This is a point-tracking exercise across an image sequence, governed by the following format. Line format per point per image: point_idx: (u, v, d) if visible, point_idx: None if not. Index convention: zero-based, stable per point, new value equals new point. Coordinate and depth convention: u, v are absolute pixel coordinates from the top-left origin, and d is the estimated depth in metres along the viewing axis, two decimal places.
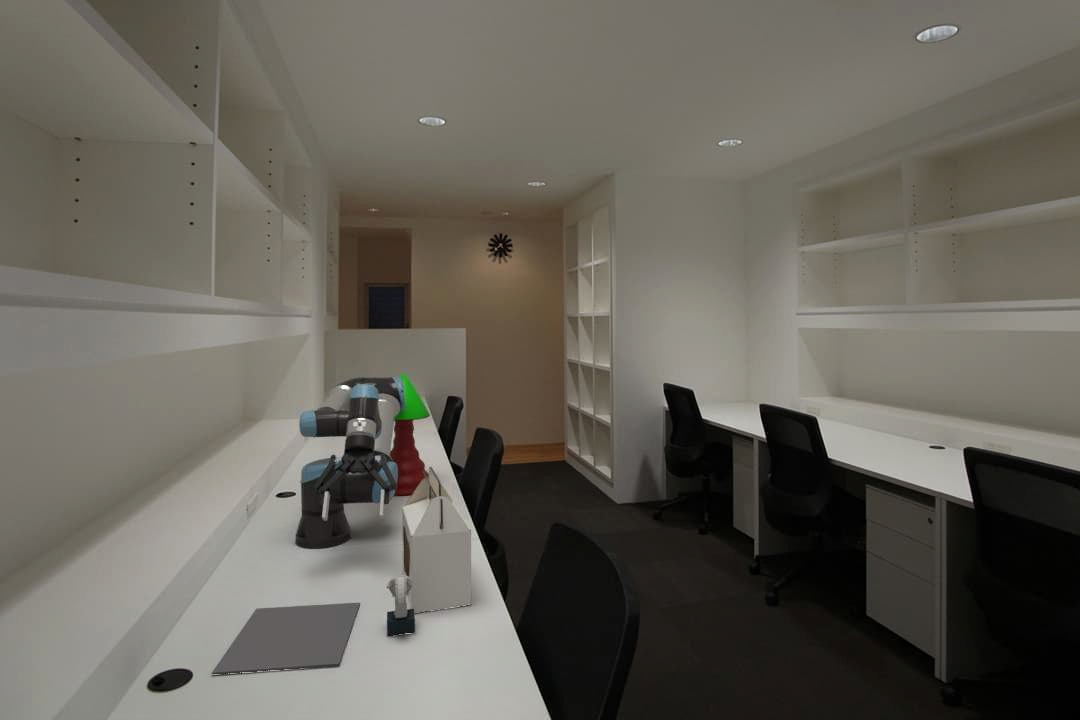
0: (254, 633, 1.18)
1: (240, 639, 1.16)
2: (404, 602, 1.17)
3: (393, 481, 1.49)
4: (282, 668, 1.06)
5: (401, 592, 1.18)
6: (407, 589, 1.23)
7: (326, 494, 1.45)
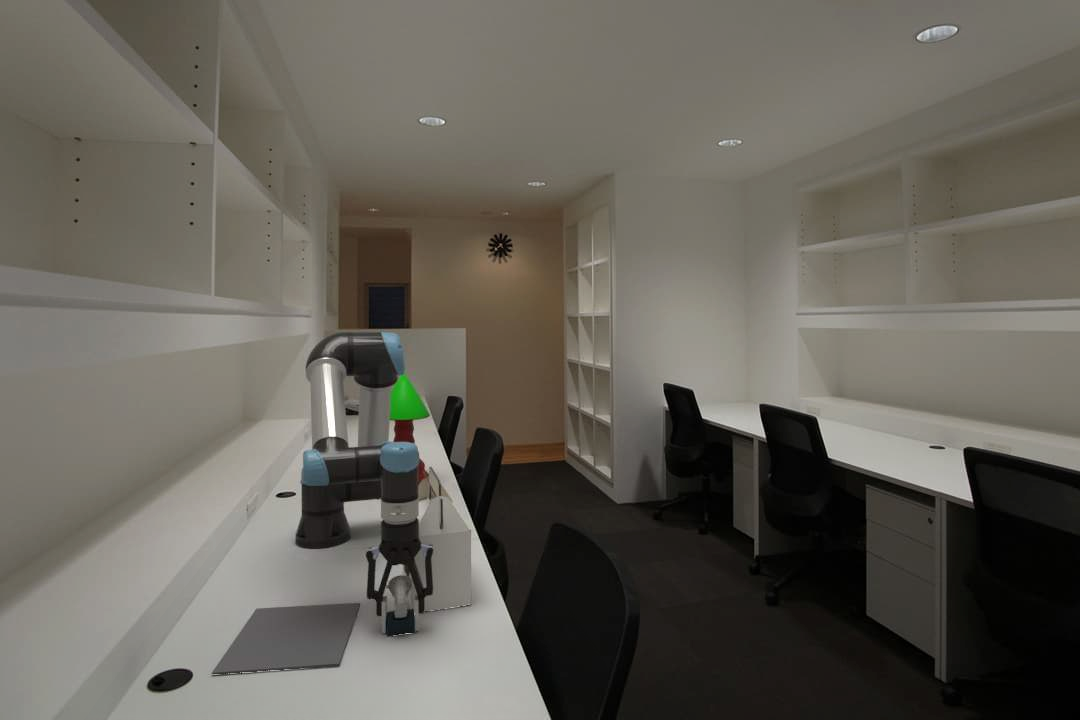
0: (254, 633, 1.18)
1: (240, 639, 1.16)
2: (404, 602, 1.17)
3: (430, 588, 1.20)
4: (282, 668, 1.06)
5: (401, 592, 1.17)
6: (407, 589, 1.23)
7: (383, 605, 1.19)
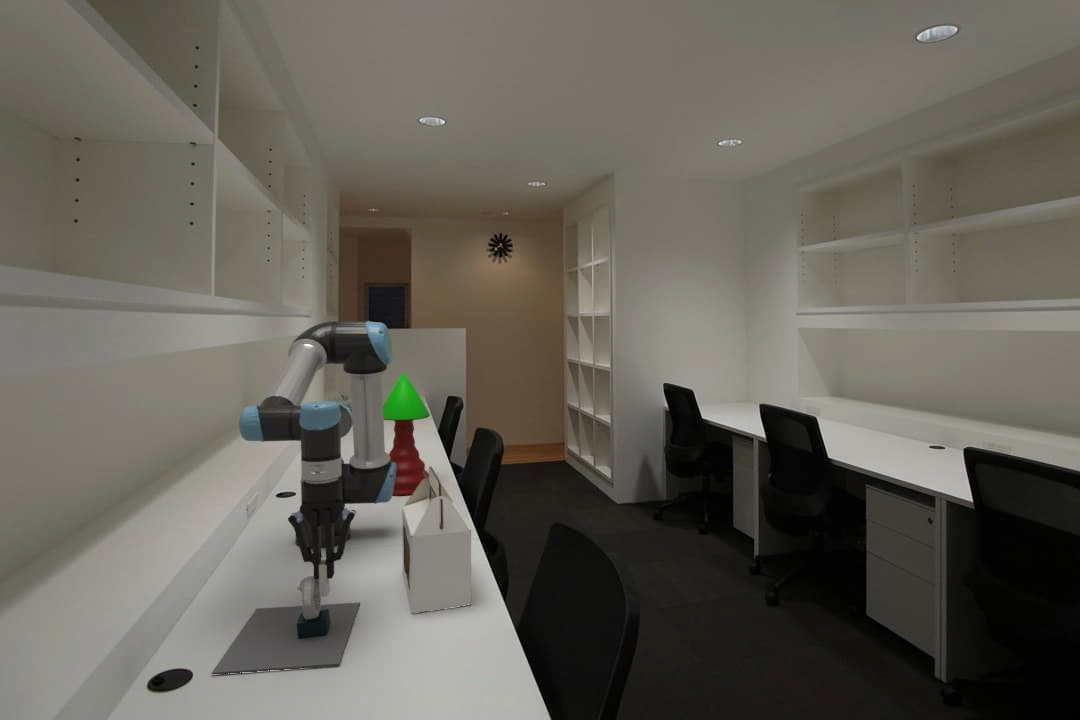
0: (254, 633, 1.18)
1: (240, 639, 1.16)
2: (311, 603, 1.15)
3: (340, 553, 1.17)
4: (282, 668, 1.06)
5: (307, 593, 1.15)
6: None
7: (321, 568, 1.17)
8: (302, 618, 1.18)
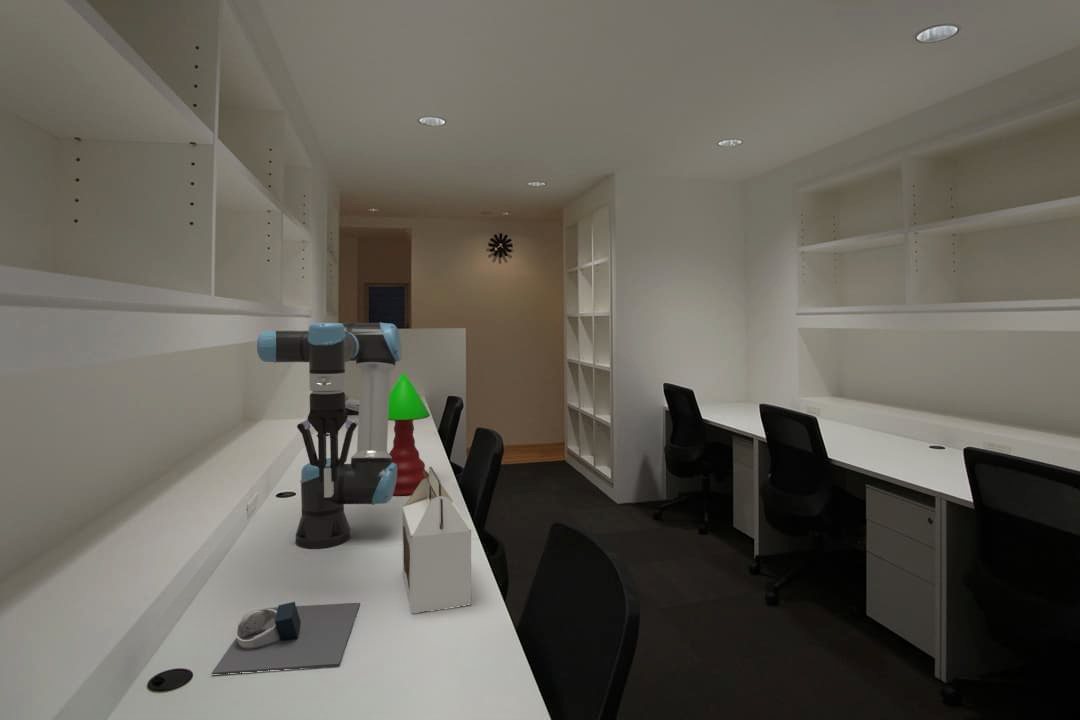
0: (254, 633, 1.18)
1: None
2: (251, 641, 1.12)
3: (343, 458, 1.31)
4: (282, 668, 1.06)
5: (242, 644, 1.12)
6: (257, 615, 1.17)
7: (325, 472, 1.30)
8: None
